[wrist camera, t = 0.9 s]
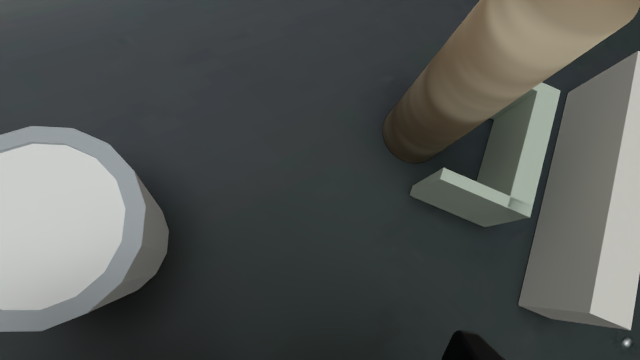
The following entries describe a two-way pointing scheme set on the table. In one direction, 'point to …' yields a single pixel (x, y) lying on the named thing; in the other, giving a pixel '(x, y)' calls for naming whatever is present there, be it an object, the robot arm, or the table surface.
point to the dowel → (495, 66)
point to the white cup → (71, 227)
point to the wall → (591, 207)
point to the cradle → (500, 165)
